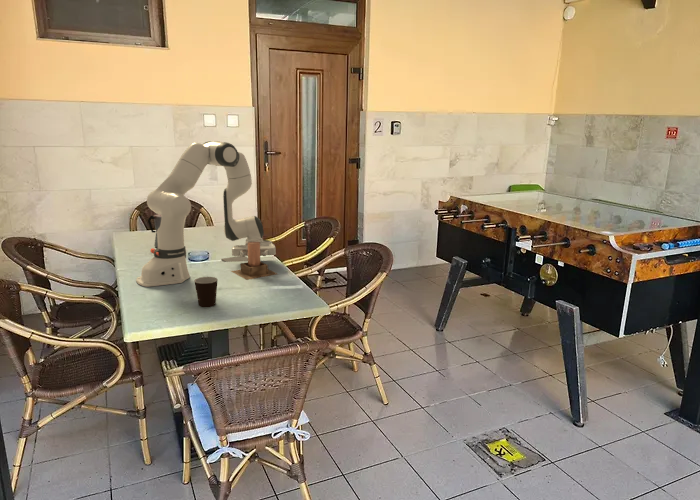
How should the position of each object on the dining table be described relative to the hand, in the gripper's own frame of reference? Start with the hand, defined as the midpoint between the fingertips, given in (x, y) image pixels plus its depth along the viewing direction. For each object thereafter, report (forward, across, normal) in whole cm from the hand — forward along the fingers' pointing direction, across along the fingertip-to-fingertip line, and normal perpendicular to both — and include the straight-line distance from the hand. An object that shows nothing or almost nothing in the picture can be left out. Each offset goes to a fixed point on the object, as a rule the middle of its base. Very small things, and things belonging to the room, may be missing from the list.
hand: (253, 254), depth 241 cm
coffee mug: (+37, -17, +10) cm, 42 cm away
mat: (-24, -8, +10) cm, 27 cm away
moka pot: (-58, -50, +10) cm, 78 cm away
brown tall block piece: (+2, 0, +8) cm, 9 cm away
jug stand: (+1, 0, +10) cm, 10 cm away
